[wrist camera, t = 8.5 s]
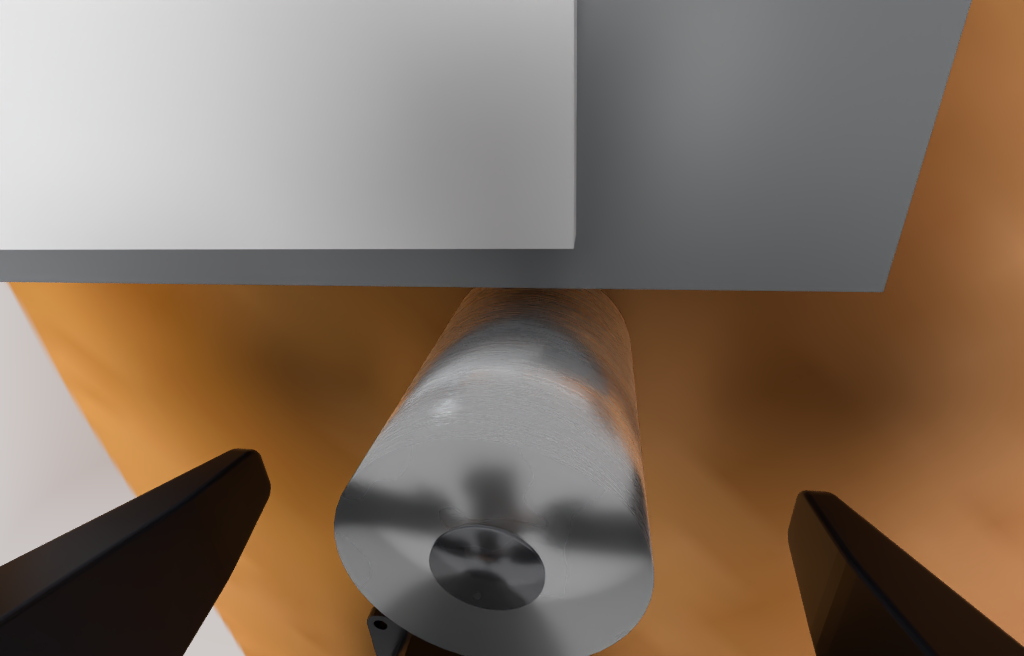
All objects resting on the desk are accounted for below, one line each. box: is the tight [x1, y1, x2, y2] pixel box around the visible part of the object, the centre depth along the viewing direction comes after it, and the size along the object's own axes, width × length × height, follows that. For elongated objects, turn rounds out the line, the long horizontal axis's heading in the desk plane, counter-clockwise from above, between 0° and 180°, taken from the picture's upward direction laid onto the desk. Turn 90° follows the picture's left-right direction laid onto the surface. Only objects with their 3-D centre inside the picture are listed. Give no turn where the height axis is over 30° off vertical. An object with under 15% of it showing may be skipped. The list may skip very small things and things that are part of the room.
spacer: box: [334, 287, 654, 656], centre depth 9 cm, size 4×4×6 cm
